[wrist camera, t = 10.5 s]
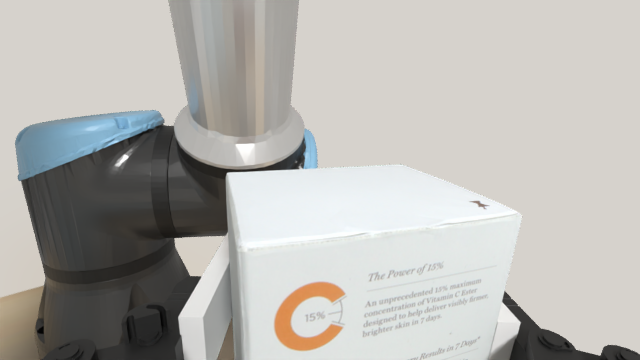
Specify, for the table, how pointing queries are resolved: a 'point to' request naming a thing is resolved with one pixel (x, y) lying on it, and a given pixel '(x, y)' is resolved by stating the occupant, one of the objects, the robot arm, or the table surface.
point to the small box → (364, 265)
